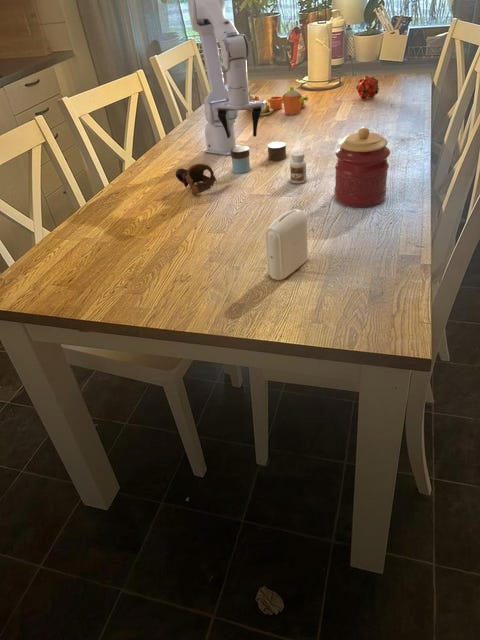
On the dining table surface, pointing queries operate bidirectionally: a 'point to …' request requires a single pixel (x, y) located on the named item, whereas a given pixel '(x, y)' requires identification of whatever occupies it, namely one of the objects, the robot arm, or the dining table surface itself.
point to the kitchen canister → (361, 169)
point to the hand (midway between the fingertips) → (242, 136)
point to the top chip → (239, 152)
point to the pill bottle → (298, 168)
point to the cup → (241, 165)
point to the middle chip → (276, 148)
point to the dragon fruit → (367, 87)
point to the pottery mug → (196, 178)
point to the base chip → (277, 156)
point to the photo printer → (287, 244)
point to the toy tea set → (283, 102)
